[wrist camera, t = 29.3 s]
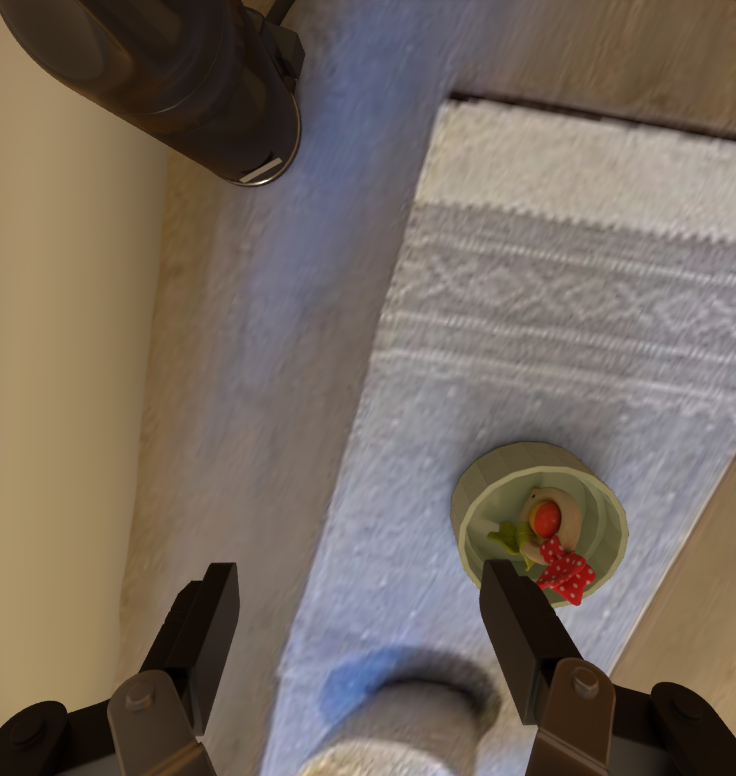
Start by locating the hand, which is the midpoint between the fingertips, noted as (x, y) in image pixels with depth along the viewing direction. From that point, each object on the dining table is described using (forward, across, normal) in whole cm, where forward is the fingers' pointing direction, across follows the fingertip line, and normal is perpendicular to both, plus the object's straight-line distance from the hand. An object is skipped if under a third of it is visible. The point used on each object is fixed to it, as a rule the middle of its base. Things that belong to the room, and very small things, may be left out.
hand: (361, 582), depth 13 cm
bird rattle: (+26, -18, +14) cm, 35 cm away
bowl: (+27, -18, +14) cm, 35 cm away
